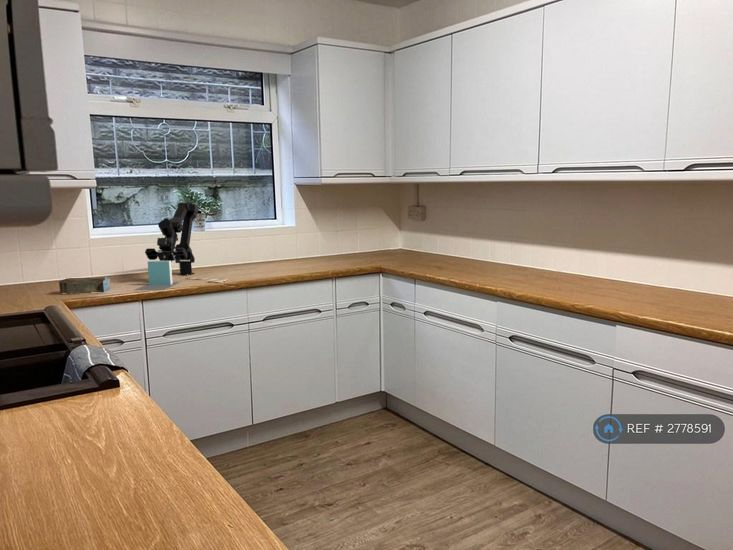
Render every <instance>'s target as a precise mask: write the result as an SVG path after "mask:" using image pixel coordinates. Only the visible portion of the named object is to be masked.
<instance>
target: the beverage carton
mask: <svg viewBox="0 0 733 550" xmlns="http://www.w3.org/2000/svg"><path fill="white" fill-rule="evenodd" d="M110 282H111V281H110V278H109V277H106V276H105V277H68V278H65V279H62V280H59V281H58V284H59V293H91V292H100V293H105V292H108V291H110V290H111V284H110Z"/></svg>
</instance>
